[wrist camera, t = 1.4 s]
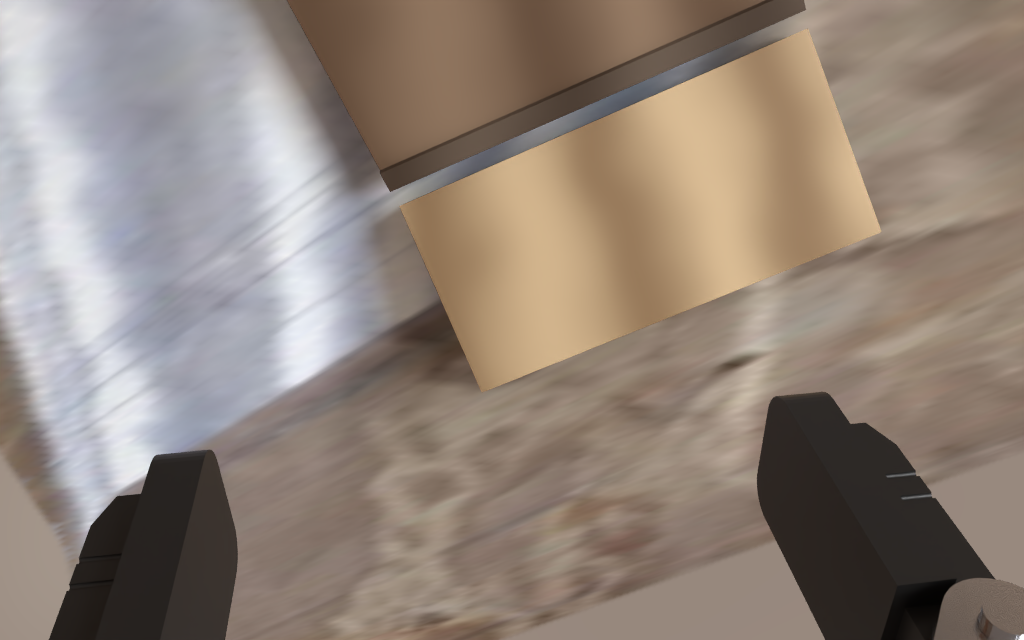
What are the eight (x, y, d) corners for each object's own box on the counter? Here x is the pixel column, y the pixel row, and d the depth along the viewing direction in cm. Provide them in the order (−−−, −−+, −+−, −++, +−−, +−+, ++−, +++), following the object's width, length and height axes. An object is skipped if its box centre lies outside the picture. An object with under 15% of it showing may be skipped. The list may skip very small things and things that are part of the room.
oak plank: (793, 35, 34) (808, 28, 32) (863, 227, 35) (881, 231, 33) (408, 203, 36) (399, 206, 34) (486, 380, 37) (481, 392, 35)
